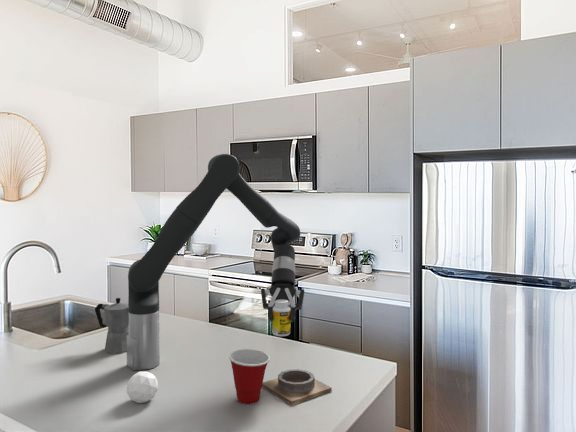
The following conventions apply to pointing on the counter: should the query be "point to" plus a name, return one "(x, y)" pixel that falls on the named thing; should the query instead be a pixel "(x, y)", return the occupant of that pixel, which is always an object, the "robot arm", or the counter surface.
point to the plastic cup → (248, 373)
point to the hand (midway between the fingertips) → (281, 320)
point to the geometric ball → (142, 387)
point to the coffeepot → (115, 325)
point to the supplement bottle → (281, 318)
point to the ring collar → (296, 386)
